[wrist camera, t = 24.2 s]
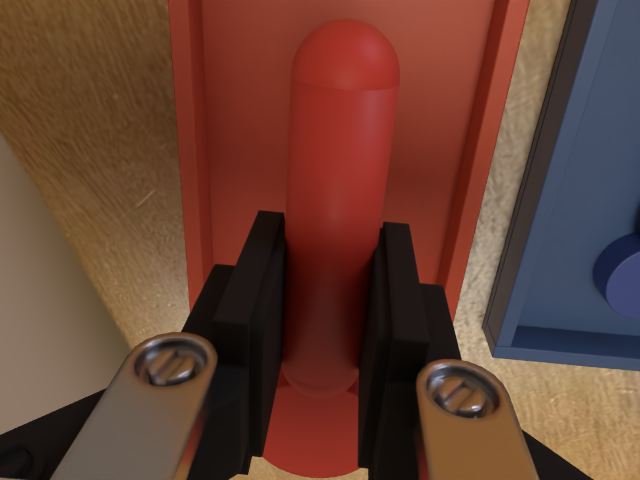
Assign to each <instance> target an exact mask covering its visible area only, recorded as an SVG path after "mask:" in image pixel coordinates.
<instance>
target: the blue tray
mask: <svg viewBox="0 0 640 480" xmlns="http://www.w3.org/2000/svg"><path fill="white" fill-rule="evenodd" d="M636 232H640V0H572V2H571V6H570V10H569V13H568V17H567V20H566V24H565V28H564V31H563V35H562V39H561V42H560V46H559V50H558V53H557V57H556V61H555V64H554V68H553V72H552V75H551V79H550V83H549V86H548V90H547V93H546V97H545V101H544V104H543V108H542V112H541V115H540V119H539V123H538V126H537V130H536V134H535V137H534V141H533V145H532V148H531V152H530V156H529V159H528V163H527V166H526V170H525V174H524V177H523V181H522V185H521V188H520V192H519V196H518V199H517V203H516V207H515V210H514V214H513V218H512V221H511V225H510V229H509V232H508V236H507V239H506V243H505V247H504V250H503V254H502V258H501V261H500V265H499V269H498V272H497V276H496V280H495V283H494V287H493V291H492V294H491V298H490V302H489V305H488V309H487V312H486V316H485V320H484V323H483V327H482V328H483V331H484V334H485V337H486V340H487V343H488V346H489V349H490V352H491V355H492V357H493V358H503V359H514V360H524V361H535V362H546V363H557V364H567V365H578V366H589V367H600V368H610V369H621V370H632V371H640V320H635V319H629V318H626V317H623V316H621V315H619V314H618V313H616V312H615V311H614V310H613V309H612V308H611V307H610V306H609V305H608V303H607V302H606V300H605V299H604V298H603V296H602V295H601V294H600V292H599V291H598V289H597V288H596V286H595V283H594V279H593V272H594V267H595V264H596V262H597V259H598V258H599V256H600V255H601V254H602V252H603V251H604V250H605V249H606V248H607V247H608V246H609V245H611V244H612V243H613V242H615V241H616V240H618V239H620V238H622V237H624V236H626V235H629V234H632V233H636Z"/></svg>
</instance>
